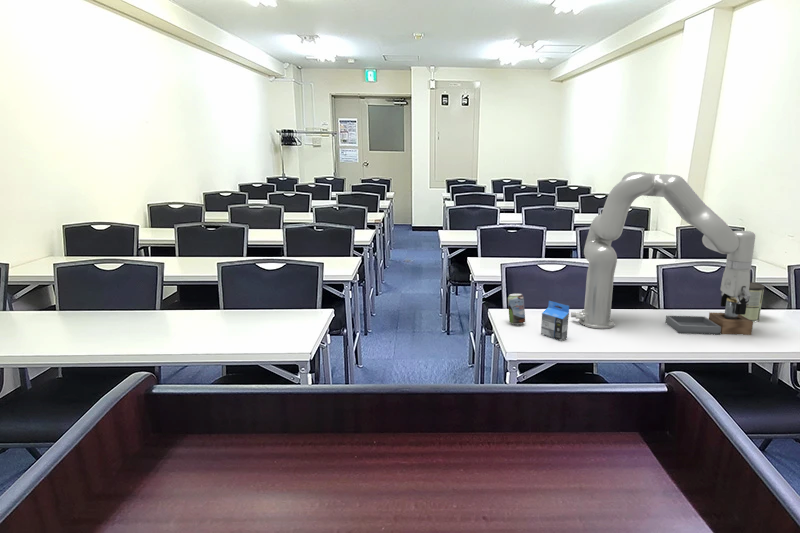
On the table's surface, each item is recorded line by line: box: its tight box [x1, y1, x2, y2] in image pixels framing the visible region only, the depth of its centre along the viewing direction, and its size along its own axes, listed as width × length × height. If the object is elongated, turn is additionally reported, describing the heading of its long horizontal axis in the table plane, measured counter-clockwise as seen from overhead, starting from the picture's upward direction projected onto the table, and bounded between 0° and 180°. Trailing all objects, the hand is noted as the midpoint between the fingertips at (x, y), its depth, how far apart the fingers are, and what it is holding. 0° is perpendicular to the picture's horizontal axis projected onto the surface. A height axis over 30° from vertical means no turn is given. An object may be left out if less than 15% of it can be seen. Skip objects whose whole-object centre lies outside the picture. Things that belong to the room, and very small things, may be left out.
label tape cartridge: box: [540, 300, 570, 342], centre depth 171 cm, size 9×4×12 cm, turn 37°
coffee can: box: [731, 281, 766, 323], centre depth 189 cm, size 10×10×14 cm
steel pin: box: [724, 297, 738, 319], centre depth 176 cm, size 4×4×12 cm
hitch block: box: [708, 311, 754, 336], centre depth 177 cm, size 10×10×5 cm
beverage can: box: [507, 293, 526, 325], centre depth 185 cm, size 6×7×12 cm
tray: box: [665, 314, 721, 336], centre depth 179 cm, size 14×12×3 cm
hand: (732, 310), depth 176 cm, fingers open, 9 cm apart
